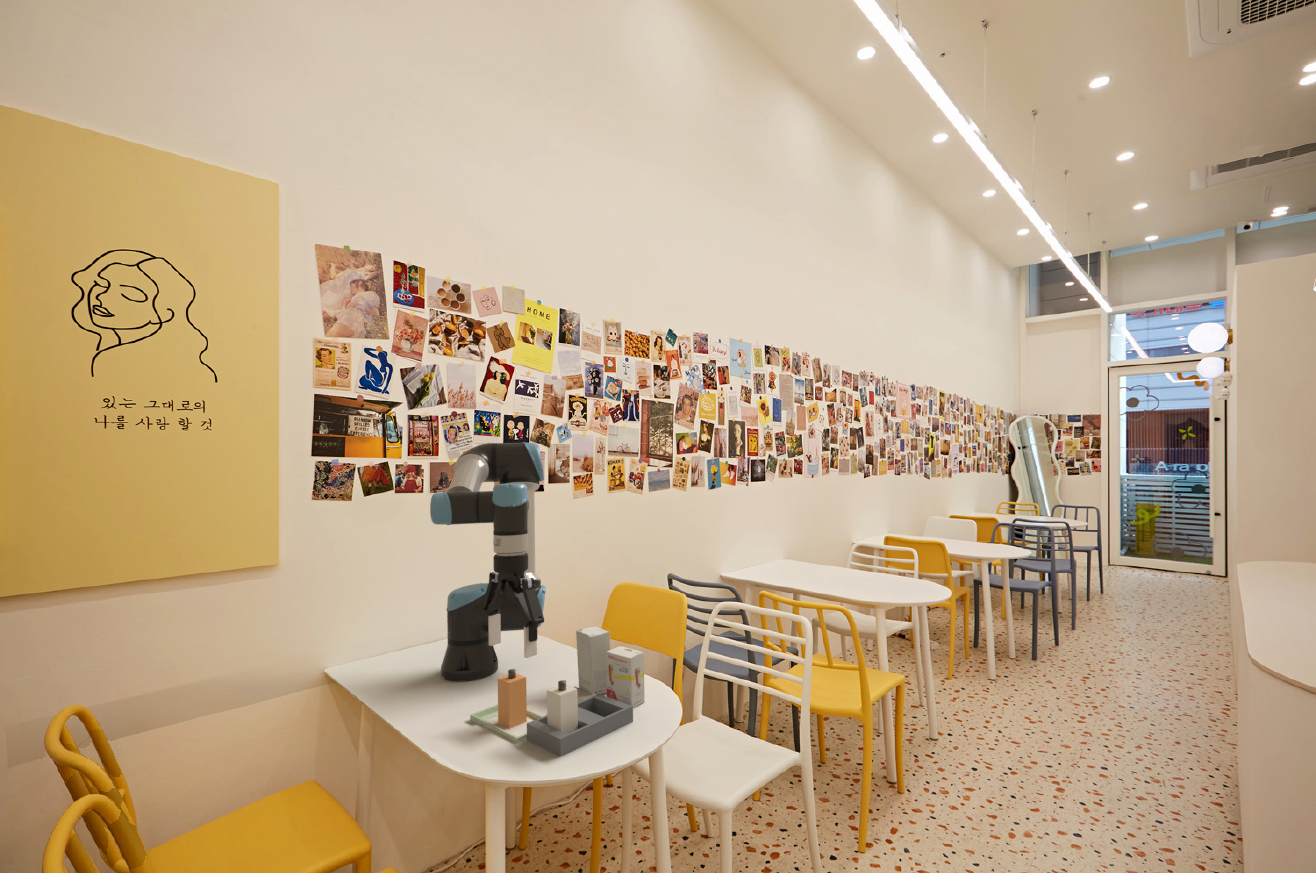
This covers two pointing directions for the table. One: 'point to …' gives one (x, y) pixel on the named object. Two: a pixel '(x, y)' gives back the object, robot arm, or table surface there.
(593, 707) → the grey two-slot holder
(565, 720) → the white knobbed peg block
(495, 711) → the tray
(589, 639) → the skincare box
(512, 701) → the orange knobbed block
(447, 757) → the table surface
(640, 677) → the ink box
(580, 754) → the table surface
